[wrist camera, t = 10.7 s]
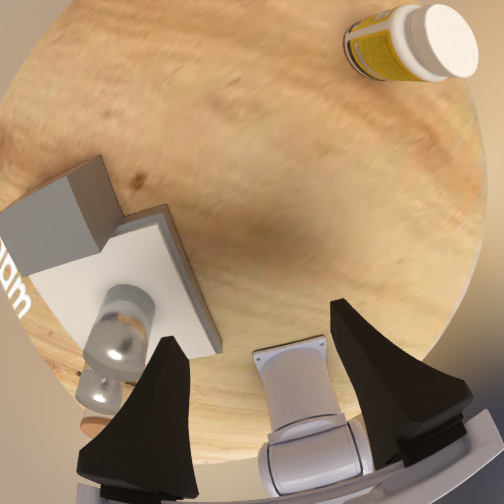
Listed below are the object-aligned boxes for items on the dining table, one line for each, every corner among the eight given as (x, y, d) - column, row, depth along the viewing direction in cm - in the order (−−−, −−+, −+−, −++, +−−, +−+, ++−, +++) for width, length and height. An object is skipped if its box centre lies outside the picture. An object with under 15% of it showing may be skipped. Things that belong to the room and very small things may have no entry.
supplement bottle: (392, 90, 15) (477, 102, 8) (336, 66, 14) (413, 57, 7) (402, 38, 13) (484, 31, 6) (348, 11, 12) (421, -21, 5)
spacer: (164, 319, 22) (155, 379, 16) (121, 327, 22) (105, 382, 17) (141, 279, 19) (122, 340, 14) (96, 289, 19) (71, 346, 14)
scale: (222, 341, 27) (223, 382, 22) (101, 357, 27) (91, 391, 23) (144, 137, 16) (119, 152, 12) (5, 205, 16) (-28, 232, 12)
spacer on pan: (137, 366, 25) (128, 415, 20) (104, 368, 25) (93, 414, 20) (115, 339, 23) (101, 392, 17) (82, 343, 23) (66, 391, 18)
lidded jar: (111, 407, 34) (104, 457, 26) (78, 370, 28) (61, 429, 20) (173, 410, 35) (171, 465, 27) (147, 372, 29) (139, 442, 21)
